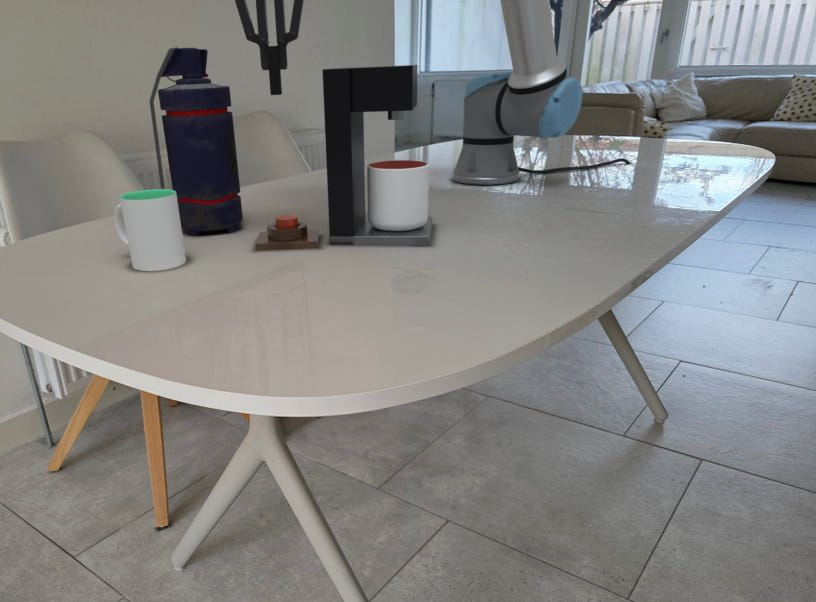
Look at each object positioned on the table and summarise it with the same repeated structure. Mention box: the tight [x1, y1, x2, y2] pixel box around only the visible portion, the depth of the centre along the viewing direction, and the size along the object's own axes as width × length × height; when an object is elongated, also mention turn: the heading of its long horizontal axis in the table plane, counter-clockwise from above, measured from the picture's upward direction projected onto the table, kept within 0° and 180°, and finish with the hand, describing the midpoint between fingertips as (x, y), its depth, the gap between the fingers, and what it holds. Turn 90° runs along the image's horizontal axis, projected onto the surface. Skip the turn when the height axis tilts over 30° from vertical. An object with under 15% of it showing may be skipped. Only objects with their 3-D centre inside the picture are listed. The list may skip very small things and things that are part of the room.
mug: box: [113, 188, 187, 272], centre depth 94 cm, size 12×8×10 cm, turn 61°
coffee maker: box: [322, 64, 433, 247], centre depth 100 cm, size 16×14×26 cm
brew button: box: [275, 214, 299, 229], centre depth 102 cm, size 4×4×2 cm
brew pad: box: [254, 220, 320, 252], centre depth 102 cm, size 10×8×3 cm
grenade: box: [149, 46, 244, 237], centre depth 108 cm, size 14×12×30 cm
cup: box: [366, 159, 430, 231], centre depth 103 cm, size 10×10×10 cm
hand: (276, 94), depth 93 cm, fingers closed
